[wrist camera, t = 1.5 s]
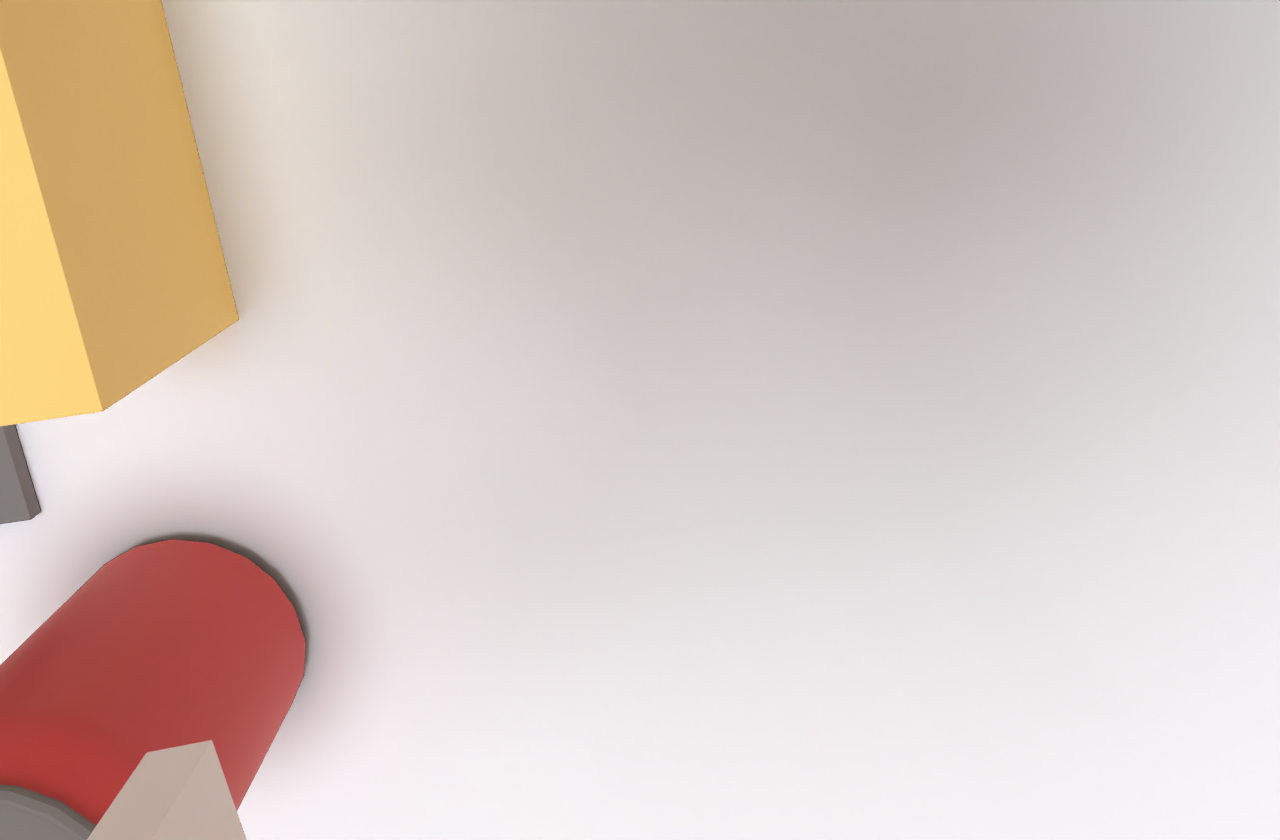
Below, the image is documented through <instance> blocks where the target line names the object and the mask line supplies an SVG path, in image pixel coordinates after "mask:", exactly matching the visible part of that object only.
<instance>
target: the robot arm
mask: <svg viewBox="0 0 1280 840" xmlns="http://www.w3.org/2000/svg"><path fill="white" fill-rule="evenodd" d="M87 840H246V837H245V834H244V831H243V828H242V825H241V823H240V820H239V817H238V814H237V811H236V808H235V805H234V802H233V799H232V797H231V794H230V791H229V788H228V785H227V782H226V779H225V776H224V773H223V770H222V768H221V765H220V762H219V759H218V756H217V753H216V750H215V747H214V744H213V742H212V740H209V741H204V742H199V743H194V744H188V745H183V746H178V747H173V748H167V749H162V750H157V751H152V752H147V753H146V754H145V756H144V757H143V759H142V760H141V761H140V763H139V764H138V766H137V767H136V769H135V770H134V772H133V773H132V775H131V776H130V778H129V779H128V780H127V782H126V783H125V785H124V786H123V788H122V789H121V791H120V792H119V794H118V795H117V796H116V798H115V799H114V801H113V802H112V804H111V805H110V807H109V808H108V810H107V811H106V813H105V814H104V815H103V817H102V818H101V820H100V821H99V823H98V824H97V826H96V827H95V829H94V830H93V831H92V833H91V834H90V836H89V837H88V839H87Z"/></svg>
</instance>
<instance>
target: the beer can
mask: <svg viewBox="0 0 1280 840" xmlns="http://www.w3.org/2000/svg"><path fill="white" fill-rule="evenodd" d="M304 664H305V639H304V636H303V633H302V630H301V626H300V623H299V620H298V617H297V614H296V610H295V608H294V606H293V605H292V604H291V602H290V601H289V599H288V598H287V597H286V595H285V594H284V592H283V591H282V589H281V588H280V587H279V585H278V584H277V582H276V581H275V580H274V579H273V578H272V577H271V576H270V575H268V574H267V573H266V572H264V571H263V570H262V569H260V568H259V567H258V566H257V565H255V564H254V563H253V562H251V561H250V560H249V559H248V558H246V557H245V556H242V555H240V554H237V553H235V552H232V551H230V550H227V549H225V548H222V547H219V546H217V545H214V544H212V543H205V542H194V541H184V540H173V539H171V540H166V541H161V542H156V543H151V544H146V545H141V546H136V547H134V548H132V549H130V550H128V551H127V552H125V553H123V554H121V555H120V556H118V557H116V558H114V559H113V560H111V561H109V562H107V563H106V564H104V565H103V566H102V567H101V568H100V569H99V570H98V571H97V572H96V573H95V574H94V575H93V576H92V577H91V578H90V579H89V580H88V581H87V582H86V583H85V584H84V585H83V586H82V587H81V588H80V589H79V590H77V591H76V592H75V593H74V594H73V595H72V596H71V597H70V598H69V599H68V600H67V601H66V602H65V603H64V604H63V605H62V606H61V607H60V608H59V609H58V610H57V611H56V612H55V613H54V614H53V615H52V616H51V617H50V618H49V619H48V620H47V621H46V622H44V623H43V624H42V625H41V626H40V627H39V628H38V629H37V630H36V631H35V632H34V633H33V634H32V635H31V636H30V637H29V638H28V639H27V640H26V641H25V642H24V643H23V644H22V645H21V646H20V647H19V648H18V649H17V650H16V651H15V652H14V653H12V654H11V655H10V656H9V657H8V658H7V659H6V660H5V661H4V662H3V663H2V664H1V665H0V840H87V839H88V837H89V836H90V834H91V833H92V831H93V830H94V829H95V827H96V826H97V824H98V823H99V821H100V820H101V818H102V817H103V815H104V814H105V813H106V811H107V810H108V808H109V807H110V805H111V804H112V802H113V801H114V799H115V798H116V796H117V795H118V794H119V792H120V791H121V789H122V788H123V786H124V785H125V783H126V782H127V780H128V779H129V778H130V776H131V775H132V773H133V772H134V770H135V769H136V767H137V766H138V764H139V763H140V761H141V760H142V759H143V757H144V756H145V754H146V753H147V752H152V751H157V750H162V749H167V748H173V747H178V746H183V745H188V744H194V743H199V742H204V741H209V740H212V742H213V744H214V747H215V750H216V753H217V756H218V759H219V762H220V765H221V768H222V770H223V773H224V776H225V779H226V782H227V785H228V788H229V791H230V794H231V797H232V799H233V802H234V805H235V808H236V811H237V810H238V808H239V806H240V804H241V802H242V800H243V798H244V796H245V794H246V792H247V790H248V788H249V787H250V785H251V783H252V781H253V779H254V777H255V775H256V773H257V771H258V769H259V767H260V765H261V763H262V761H263V759H264V757H265V755H266V753H267V751H268V749H269V748H270V746H271V744H272V742H273V740H274V738H275V736H276V734H277V732H278V730H279V728H280V726H281V724H282V722H283V720H284V718H285V716H286V714H287V712H288V710H289V709H290V707H291V705H292V702H293V700H294V698H295V695H296V693H297V690H298V688H299V686H300V683H301V681H302V678H303V676H304Z"/></svg>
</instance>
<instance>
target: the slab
mask: <svg viewBox="0 0 1280 840" xmlns="http://www.w3.org/2000/svg"><path fill="white" fill-rule="evenodd" d="M238 320H239V317H238V313H237V309H236V305H235V301H234V297H233V293H232V289H231V285H230V281H229V276H228V272H227V268H226V264H225V260H224V256H223V252H222V248H221V244H220V240H219V235H218V231H217V227H216V223H215V219H214V215H213V211H212V207H211V203H210V199H209V194H208V190H207V186H206V182H205V178H204V174H203V170H202V166H201V162H200V158H199V153H198V149H197V145H196V141H195V137H194V133H193V129H192V125H191V121H190V116H189V112H188V108H187V104H186V100H185V96H184V92H183V88H182V84H181V80H180V75H179V71H178V67H177V63H176V59H175V55H174V51H173V47H172V43H171V39H170V34H169V30H168V26H167V22H166V18H165V14H164V10H163V6H162V2H161V0H0V426H6V425H13V424H20V423H27V422H34V421H40V420H47V419H54V418H61V417H68V416H74V415H81V414H88V413H95V412H102V411H104V410H106V409H107V408H109V407H110V406H112V405H113V404H114V403H116V402H117V401H119V400H120V399H122V398H123V397H125V396H126V395H128V394H129V393H131V392H132V391H134V390H135V389H137V388H138V387H140V386H141V385H143V384H144V383H146V382H147V381H149V380H150V379H152V378H153V377H155V376H156V375H158V374H159V373H161V372H162V371H163V370H165V369H166V368H168V367H169V366H171V365H172V364H174V363H175V362H177V361H178V360H180V359H181V358H183V357H184V356H186V355H187V354H189V353H190V352H192V351H193V350H195V349H196V348H198V347H199V346H201V345H202V344H204V343H205V342H207V341H208V340H210V339H211V338H212V337H214V336H215V335H217V334H218V333H220V332H221V331H223V330H224V329H226V328H227V327H229V326H230V325H232V324H233V323H235V322H236V321H238Z"/></svg>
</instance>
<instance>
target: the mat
mask: <svg viewBox="0 0 1280 840" xmlns="http://www.w3.org/2000/svg"><path fill="white" fill-rule="evenodd" d="M40 512H41V510H40V507H39V504H38V501H37V497H36V494H35V491H34V487H33V484H32V481H31V478H30V474H29V471H28V468H27V464H26V461H25V458H24V455H23V451H22V448H21V445H20V441H19V438H18V435H17V432H16V428H15V425H14V424H13V425H6V426H0V524H4V523H11V522H18V521H25V520H31V519H32V518H34V517H35V516H36V515H38V514H39V513H40Z"/></svg>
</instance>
